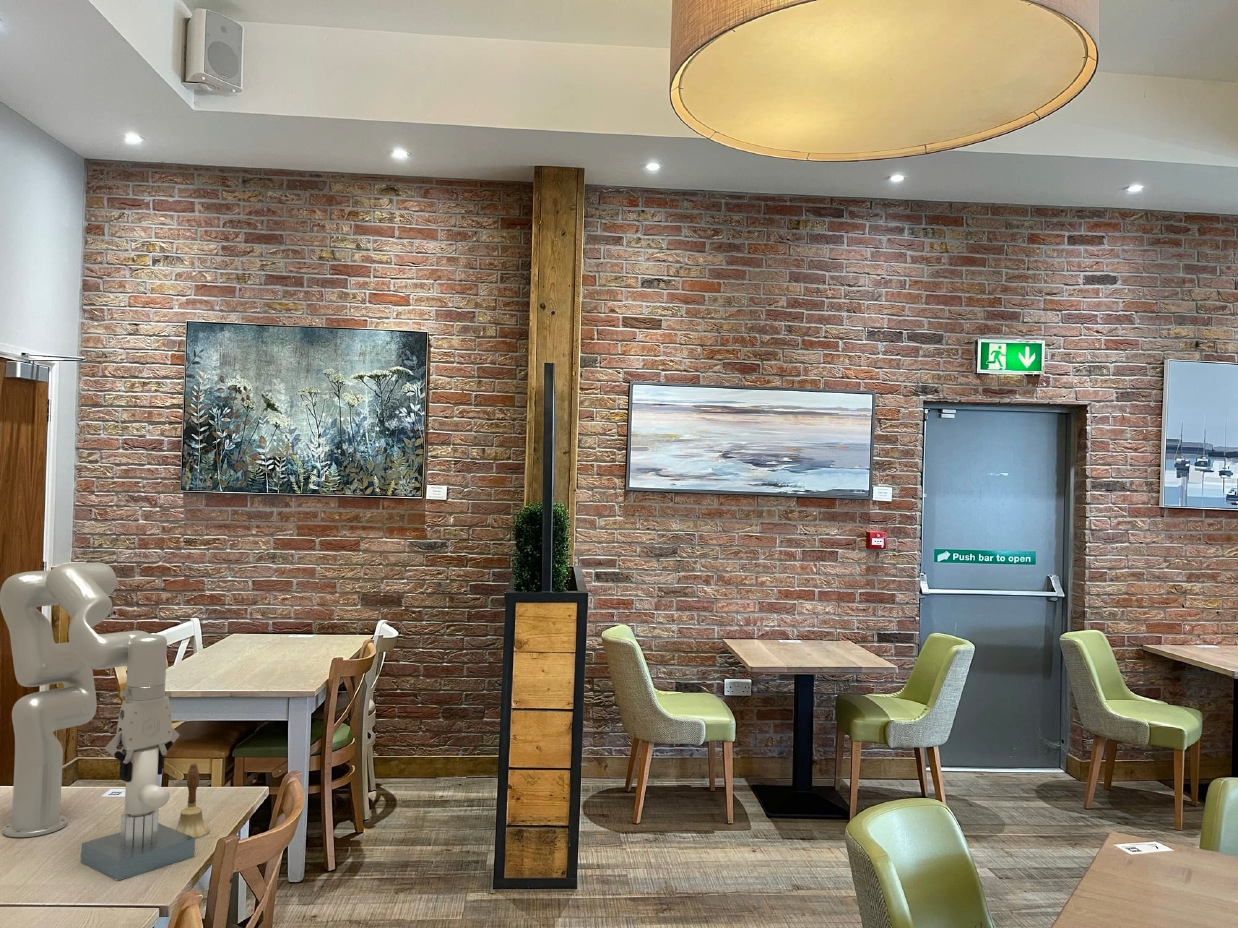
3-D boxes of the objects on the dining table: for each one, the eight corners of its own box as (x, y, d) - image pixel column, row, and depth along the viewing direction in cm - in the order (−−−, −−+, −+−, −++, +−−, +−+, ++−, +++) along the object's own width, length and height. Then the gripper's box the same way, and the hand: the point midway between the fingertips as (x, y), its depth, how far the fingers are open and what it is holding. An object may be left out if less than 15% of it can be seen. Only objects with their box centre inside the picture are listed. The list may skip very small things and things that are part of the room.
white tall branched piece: (118, 824, 191) (122, 749, 192) (146, 817, 196) (149, 743, 197) (144, 835, 185) (147, 757, 186) (172, 827, 190) (176, 751, 191)
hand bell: (217, 829, 210) (220, 761, 210) (190, 841, 202) (193, 770, 203) (190, 825, 212) (192, 757, 213) (161, 837, 204) (165, 766, 205)
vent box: (80, 861, 189) (83, 814, 190) (155, 839, 202) (157, 795, 203) (118, 880, 180) (120, 830, 181) (194, 856, 193) (196, 809, 194)
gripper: (113, 701, 184) (108, 790, 183) (193, 688, 198) (189, 771, 197) (95, 696, 188) (91, 783, 187) (175, 684, 202) (171, 765, 202)
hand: (141, 776), depth 192 cm, fingers closed on white tall branched piece, 6 cm apart
